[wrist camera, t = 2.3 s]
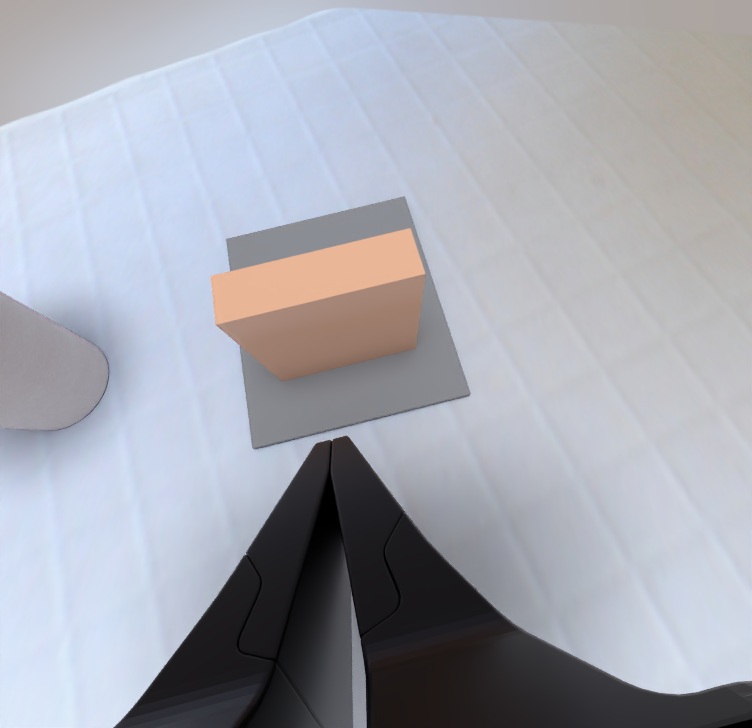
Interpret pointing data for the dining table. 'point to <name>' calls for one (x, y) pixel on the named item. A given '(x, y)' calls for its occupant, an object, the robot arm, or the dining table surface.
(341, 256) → the tile
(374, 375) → the mat
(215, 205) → the dining table surface
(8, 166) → the dining table surface
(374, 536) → the robot arm
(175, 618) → the dining table surface
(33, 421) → the coffee cup
